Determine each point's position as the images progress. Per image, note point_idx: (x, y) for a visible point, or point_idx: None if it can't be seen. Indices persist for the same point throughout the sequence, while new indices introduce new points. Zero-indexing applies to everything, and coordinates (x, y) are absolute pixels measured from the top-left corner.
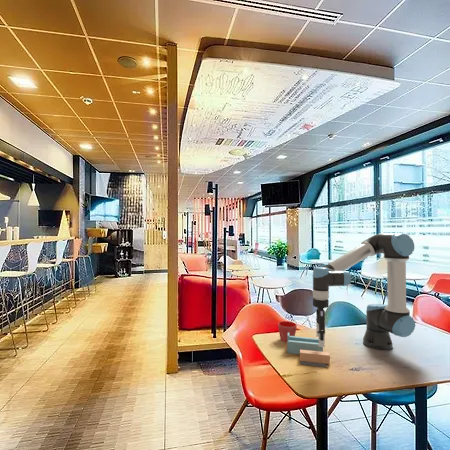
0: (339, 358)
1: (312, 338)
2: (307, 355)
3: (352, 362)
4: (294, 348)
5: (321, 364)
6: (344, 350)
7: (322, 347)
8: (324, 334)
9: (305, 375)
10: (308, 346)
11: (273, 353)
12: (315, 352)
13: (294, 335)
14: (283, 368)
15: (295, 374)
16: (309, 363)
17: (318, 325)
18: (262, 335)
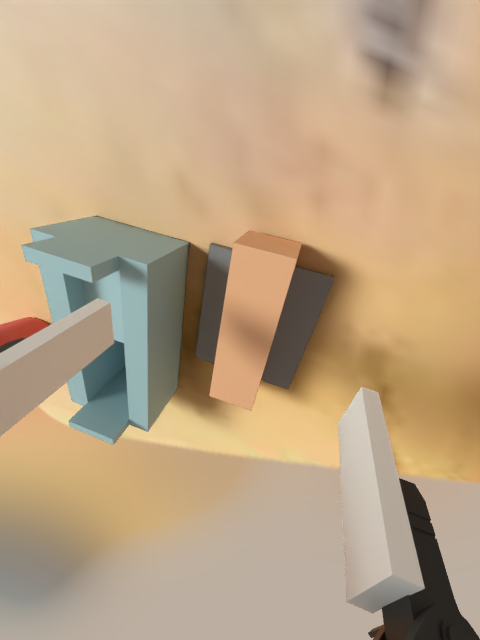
0: (193, 120)
1: (55, 293)
2: (262, 374)
3: (257, 3)
4: (166, 383)
5: (307, 298)
6: (35, 5)
7: (158, 261)
8: (418, 562)
9: (407, 408)
10: (158, 339)
11: (190, 430)
12: (243, 336)
13: (20, 336)
14: (322, 451)
15: None
16: (292, 354)
17: (3, 410)
18: (45, 405)
